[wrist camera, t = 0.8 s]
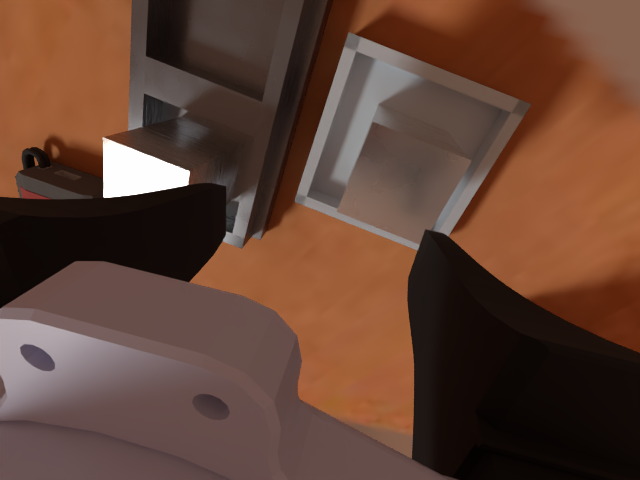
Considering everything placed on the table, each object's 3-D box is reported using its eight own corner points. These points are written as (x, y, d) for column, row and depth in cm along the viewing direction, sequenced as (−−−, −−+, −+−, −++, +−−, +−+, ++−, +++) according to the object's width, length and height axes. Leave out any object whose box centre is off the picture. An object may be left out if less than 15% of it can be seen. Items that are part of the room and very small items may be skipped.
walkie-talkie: (18, 132, 24) (57, 324, 34) (-53, 146, 20) (14, 358, 30) (131, 170, 24) (136, 353, 34) (80, 192, 20) (103, 390, 30)
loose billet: (448, 131, 18) (471, 160, 12) (413, 196, 20) (421, 245, 14) (378, 104, 18) (372, 121, 12) (351, 172, 20) (336, 211, 14)
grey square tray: (517, 100, 17) (531, 104, 15) (431, 241, 21) (434, 257, 20) (353, 35, 17) (348, 32, 15) (302, 190, 21) (294, 201, 20)
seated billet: (243, 142, 19) (189, 171, 14) (231, 201, 21) (179, 245, 16) (180, 116, 19) (102, 137, 14) (173, 178, 21) (104, 215, 16)
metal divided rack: (346, -49, 15) (337, -72, 13) (265, 232, 23) (250, 253, 21) (167, -120, 15) (121, -156, 13) (147, 185, 23) (117, 200, 21)
